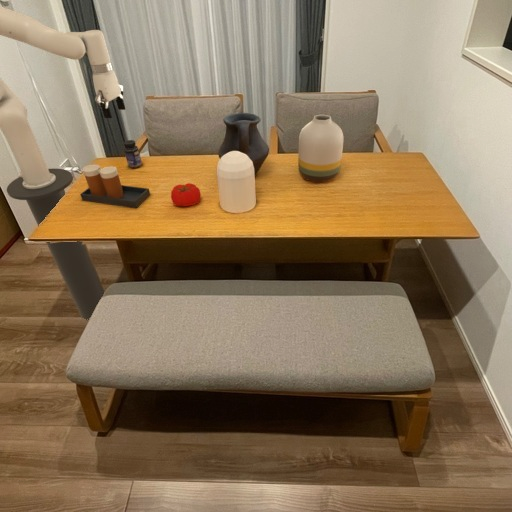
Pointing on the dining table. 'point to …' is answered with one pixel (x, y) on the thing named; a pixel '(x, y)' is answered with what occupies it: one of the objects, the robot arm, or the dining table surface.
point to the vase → (320, 149)
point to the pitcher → (244, 138)
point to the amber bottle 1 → (94, 180)
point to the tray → (130, 198)
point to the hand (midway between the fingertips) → (115, 113)
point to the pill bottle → (132, 154)
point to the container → (236, 182)
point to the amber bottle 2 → (111, 182)
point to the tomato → (185, 195)
